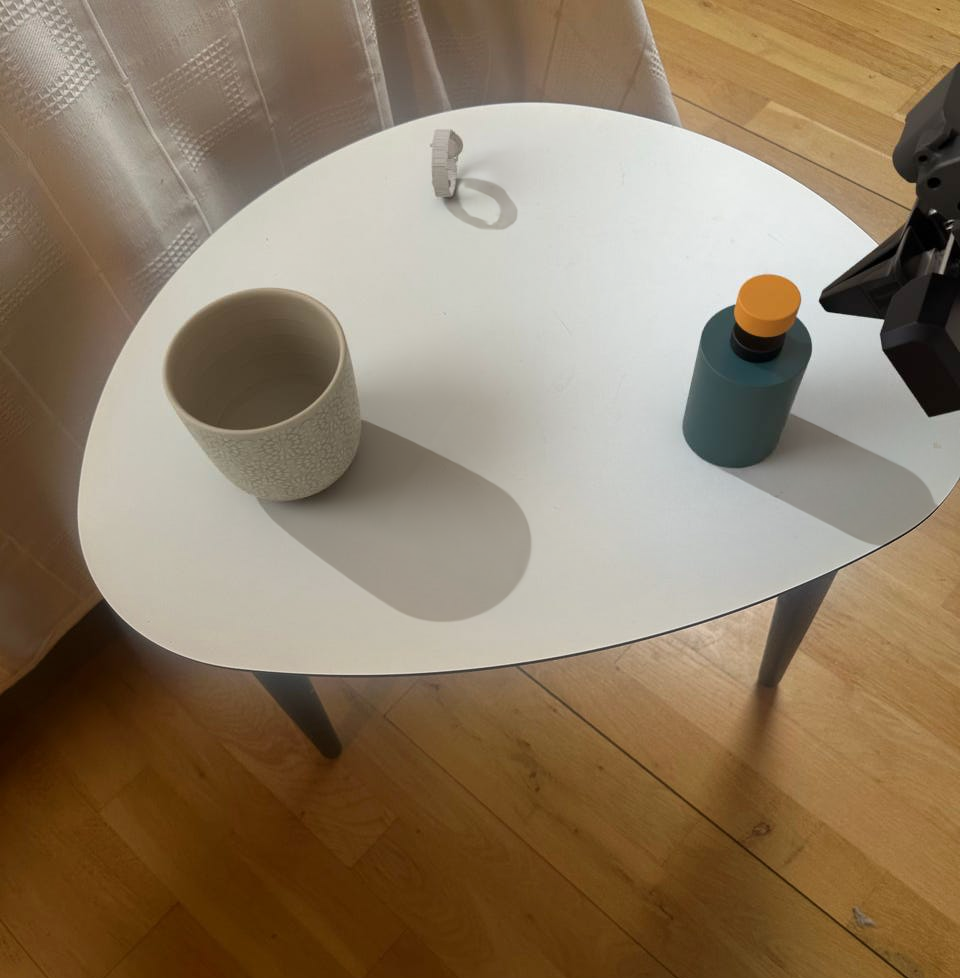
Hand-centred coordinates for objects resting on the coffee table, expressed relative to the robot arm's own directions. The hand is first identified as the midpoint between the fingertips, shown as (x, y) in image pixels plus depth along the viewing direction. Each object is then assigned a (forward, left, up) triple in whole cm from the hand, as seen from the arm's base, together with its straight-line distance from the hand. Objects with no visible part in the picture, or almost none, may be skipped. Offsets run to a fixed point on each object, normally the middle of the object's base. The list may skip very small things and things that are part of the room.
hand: (823, 301), depth 54 cm
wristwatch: (+35, -14, -14) cm, 40 cm away
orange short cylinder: (+3, 0, -2) cm, 4 cm away
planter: (+32, +16, -14) cm, 39 cm away
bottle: (+3, 0, -14) cm, 14 cm away
